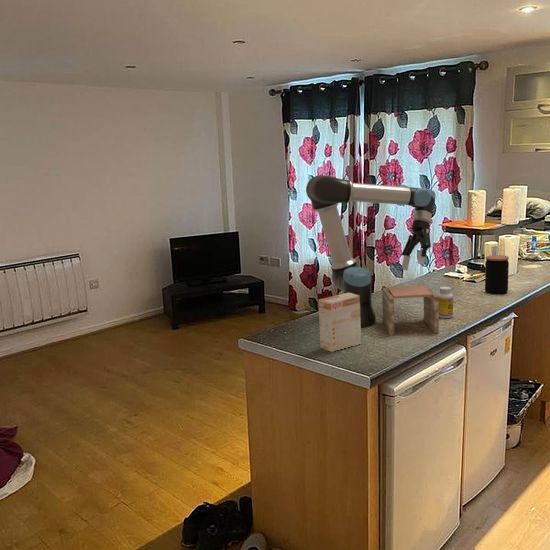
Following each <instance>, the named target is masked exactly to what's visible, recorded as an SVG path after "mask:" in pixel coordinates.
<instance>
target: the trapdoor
mask: <svg viewBox="0 0 550 550" xmlns="http://www.w3.org/2000/svg"><path fill="white" fill-rule="evenodd" d="M424 286H425V285H411V286H410V285H409V286H408V285H407V286H391V287H387V288H386V289H387V290H388V291H389V292H390V294H391V296H392V297H393V299H409V298H410V299H412V298H424V297H432V294H431V293H430V292H429V291H428V290H427V289H426V288H425V287H424Z"/></svg>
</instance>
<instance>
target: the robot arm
mask: <svg viewBox="0 0 550 550" xmlns="http://www.w3.org/2000/svg"><path fill="white" fill-rule="evenodd" d="M305 193H306V196H307V197H308V199H309V200H310V202H311V205H312V209H313V211H315V212H316V213H318V218H319V220H320V223H321V227H322V230H323V233H324V236H325V241H326V244H327V247H328V250H329V253H330V254H329V255H330V258H331V261H332V264H331V265H330V268H331V273H332V274H331V279H332V282H333V284H334V286H335V287H336V288H337V289H338V290H339V291H341V292H342V293H343V294H345V293H352V294H356V295H359V296H360V320H361V328H364V327H366V328H367V327H370V326H374V325H375V324H377V315H376V313H375V311H374V308H373V305H372V303H373V302H372V275H371V273H372V272H371V271H370V270H369V269H368V268H366V267H362V266H358V264H357V263H358V262H357V260H356V258H353V257H352V255H351V252H350V248H349V244H348V241H347V237H346V234H345V231H344V227H343V224H342V220H341V216H340V213H339V209H338V205H339V204H349V203H350V202H359V203H373V204H374V203H375V204H388V205H389V204H390V205H400V206H401V205H402V206H404V205H405V206H409V207H411V208H412V207H413V209H414V208H415V210H414V215H413V221H412V224H411V230H412V232H413V234H412V235H411V234H409V235H408V239H407V241H406V242H405V246H404V247H403V248H404V249H403V250H402V252H401V256H403V260H402V263H401V270H404V271H408V270H409V264H410V260H411V254H412V253H413V251H414V249H415V247H416V246H417V245H418V244H420V250H419V254H418V258H417V265H418V264H419V265H422V266H424V265H425V261H426V256H427V251H428V249H431V247H432V246H431V245H432V243H431V235H430V233H431V229H430V227H431V221H432V217H433V211H434V206H435V203H436V196H437V195H436V192H435V190H433V189H432V188H431V189H430V188H424V187H411V186H407V185H406V184H401V183H399V184H397V185H387V184H386V185H385V184H384V185H383V184H374V183H373V184H372V183H359V182H352V181H351V180H350V179H343V178H338V177H335V176H331V175H323V174H320V175H315V176H313V177H312V178H310V179H309V180H308V182H307V184H306V186H305Z"/></svg>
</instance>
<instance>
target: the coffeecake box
mask: <svg viewBox="0 0 550 550" xmlns="http://www.w3.org/2000/svg"><path fill="white" fill-rule="evenodd" d="M318 319H319V333H320V334H319V337H320V340H319V341H320V343H319V344H320V348H321V347H323V348H325V349H327V350H329V351H335V350H339V351H341V350H340V349H343V350H345V349H344V348H346V349H348V347H350V348H352V347H351V346H353V347H355V346H356V347H357V346H360V345H362V327H361V320H360V296H359V295H356V294H352V293H345V294H344V293H340V294H338V295H333V296H327V297H324V298H320V299H318ZM359 344H360V345H359Z"/></svg>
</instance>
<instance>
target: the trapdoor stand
mask: <svg viewBox="0 0 550 550" xmlns="http://www.w3.org/2000/svg"><path fill="white" fill-rule="evenodd" d="M423 286H424V287H425V288H426V289H427V290H428V291H429V292H430V293H431V294H432V297H423V321H424V322H425V323H426V325H427V326H428V325H429V326H428V327H429V328H430V330H431V331H432V330H433V331H432V333H434V334H435V333H438V334H439V333H440V332H439V331H440V328H439V327H440V325H439V324H440V322H439V320H440V317H439V297H438V296H437V295H438V294H436V292H435V291H433V290H432V289H431V288H430V287H429V286H428V285H423ZM381 289H382V291H381V295H382V296H381V297H382V322H383V325H384V326H385V329H386V330H387V331H388V334H389V335H390V336H395V298H393V297H392V295H391V294H390V292H389V291H388V289H387V288H386V287H381Z"/></svg>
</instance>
